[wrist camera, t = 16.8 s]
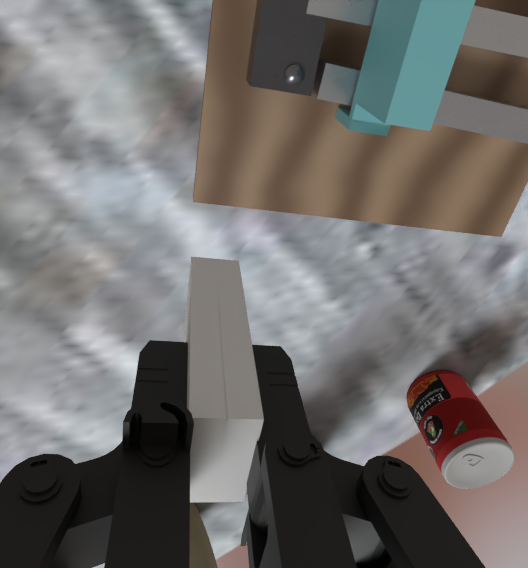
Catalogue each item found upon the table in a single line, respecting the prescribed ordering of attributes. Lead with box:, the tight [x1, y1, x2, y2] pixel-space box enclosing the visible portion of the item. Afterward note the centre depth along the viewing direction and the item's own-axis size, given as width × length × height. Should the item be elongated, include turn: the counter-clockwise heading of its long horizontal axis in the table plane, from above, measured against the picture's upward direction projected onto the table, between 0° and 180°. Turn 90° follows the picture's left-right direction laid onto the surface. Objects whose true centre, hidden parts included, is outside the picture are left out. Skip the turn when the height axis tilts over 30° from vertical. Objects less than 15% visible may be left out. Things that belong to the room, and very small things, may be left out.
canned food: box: [407, 370, 515, 489], centre depth 54 cm, size 8×8×11 cm
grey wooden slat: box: [312, 58, 528, 144], centre depth 37 cm, size 20×2×3 cm, turn 78°
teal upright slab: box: [335, 0, 476, 136], centre depth 31 cm, size 3×11×10 cm, turn 170°
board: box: [193, 0, 528, 237], centre depth 38 cm, size 30×23×1 cm
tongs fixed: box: [246, 0, 528, 96], centre depth 35 cm, size 25×7×3 cm, turn 80°
